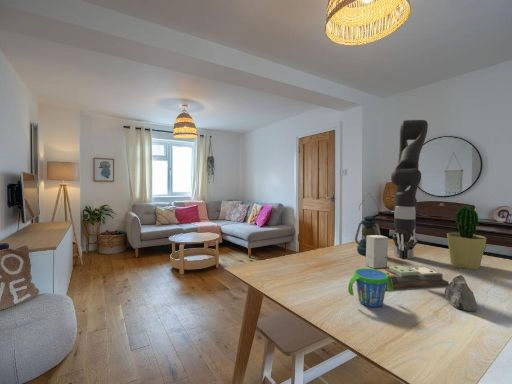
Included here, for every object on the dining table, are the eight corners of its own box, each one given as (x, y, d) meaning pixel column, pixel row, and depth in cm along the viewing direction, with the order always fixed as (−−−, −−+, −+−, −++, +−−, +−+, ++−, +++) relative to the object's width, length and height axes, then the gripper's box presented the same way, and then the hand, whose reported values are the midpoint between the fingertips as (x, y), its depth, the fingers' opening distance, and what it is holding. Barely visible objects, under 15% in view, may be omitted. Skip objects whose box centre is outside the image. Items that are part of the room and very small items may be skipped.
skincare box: (373, 269, 124) (374, 237, 123) (364, 265, 130) (365, 235, 129) (387, 267, 126) (388, 236, 126) (378, 263, 132) (379, 234, 132)
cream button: (410, 272, 114) (410, 267, 113) (424, 271, 115) (424, 266, 115) (422, 278, 107) (423, 273, 107) (437, 277, 108) (438, 272, 108)
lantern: (382, 253, 151) (384, 192, 150) (380, 258, 141) (382, 193, 140) (356, 249, 159) (358, 191, 157) (352, 254, 149) (354, 192, 147)
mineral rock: (448, 293, 98) (449, 266, 97) (485, 303, 89) (486, 274, 89) (435, 302, 90) (436, 273, 90) (474, 315, 82) (476, 283, 81)
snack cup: (355, 311, 83) (356, 279, 83) (341, 296, 94) (342, 268, 93) (402, 309, 85) (403, 278, 84) (383, 295, 95) (383, 267, 95)
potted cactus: (470, 261, 137) (472, 204, 136) (494, 271, 122) (497, 207, 121) (439, 260, 139) (441, 203, 138) (458, 269, 124) (461, 206, 122)
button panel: (359, 276, 113) (359, 268, 113) (420, 273, 119) (421, 264, 118) (380, 290, 100) (380, 280, 100) (448, 285, 105) (448, 276, 105)
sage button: (389, 271, 112) (389, 266, 112) (403, 270, 113) (404, 265, 113) (400, 277, 105) (401, 271, 105) (416, 276, 106) (416, 271, 106)
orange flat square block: (367, 274, 110) (367, 269, 110) (382, 273, 111) (383, 268, 111) (378, 281, 103) (378, 275, 103) (394, 280, 104) (394, 274, 104)
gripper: (425, 219, 102) (424, 263, 103) (401, 215, 115) (400, 254, 116) (408, 219, 101) (407, 264, 101) (385, 215, 114) (384, 255, 114)
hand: (403, 259), depth 108 cm, fingers closed
